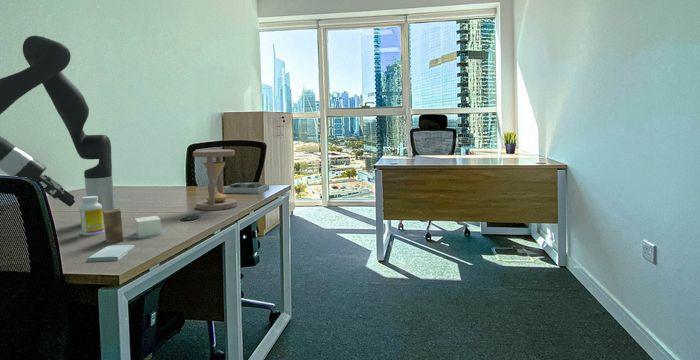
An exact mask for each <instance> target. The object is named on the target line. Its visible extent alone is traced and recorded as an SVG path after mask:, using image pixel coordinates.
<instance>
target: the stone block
mask: <svg viewBox="0 0 700 360" xmlns="http://www.w3.org/2000/svg"><path fill="white" fill-rule="evenodd" d="M260 184H261V182H246V181H244V182H236V183H232V184H230V185H229V186H230V187H242V188H258V187H261V185H260Z"/></svg>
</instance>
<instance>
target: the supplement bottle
mask: <svg viewBox="0 0 700 360" xmlns="http://www.w3.org/2000/svg"><path fill="white" fill-rule="evenodd" d="M81 202H82V204H80V206H79V215H80V225H81V234H82V235H83V236H94V235H99V234H103V233H105V225H104V222H103V212H102V205H101V204H99V203H98V196H86V195H85V196H83V197H81Z"/></svg>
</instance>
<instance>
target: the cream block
mask: <svg viewBox="0 0 700 360" xmlns="http://www.w3.org/2000/svg"><path fill="white" fill-rule="evenodd" d="M134 225H135V232H136V234H137V235H138V236H139V237H143V236H150V235H157V234H161V235H162V230H161V229H162V219H161V218H160V216H158V215H152V216H143V217H136V218H135V217H134Z"/></svg>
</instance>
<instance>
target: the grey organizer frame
mask: <svg viewBox="0 0 700 360" xmlns="http://www.w3.org/2000/svg"><path fill="white" fill-rule="evenodd" d="M260 185H261V187H258V188H242V187H230V185H227V186H223V194H254V195H257V194H261V193H264V192H266V190H267V191H269V190H270V184H269V183H260Z"/></svg>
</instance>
